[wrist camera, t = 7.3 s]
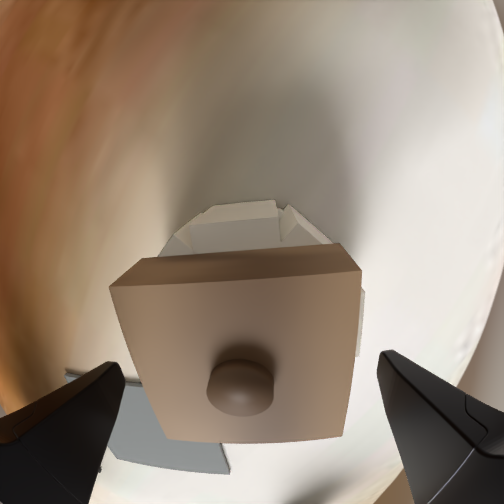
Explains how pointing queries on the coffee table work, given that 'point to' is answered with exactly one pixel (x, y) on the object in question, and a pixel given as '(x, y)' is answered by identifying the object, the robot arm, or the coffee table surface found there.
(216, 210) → the bowl
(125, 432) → the mat
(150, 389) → the lid
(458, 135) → the coffee table surface
